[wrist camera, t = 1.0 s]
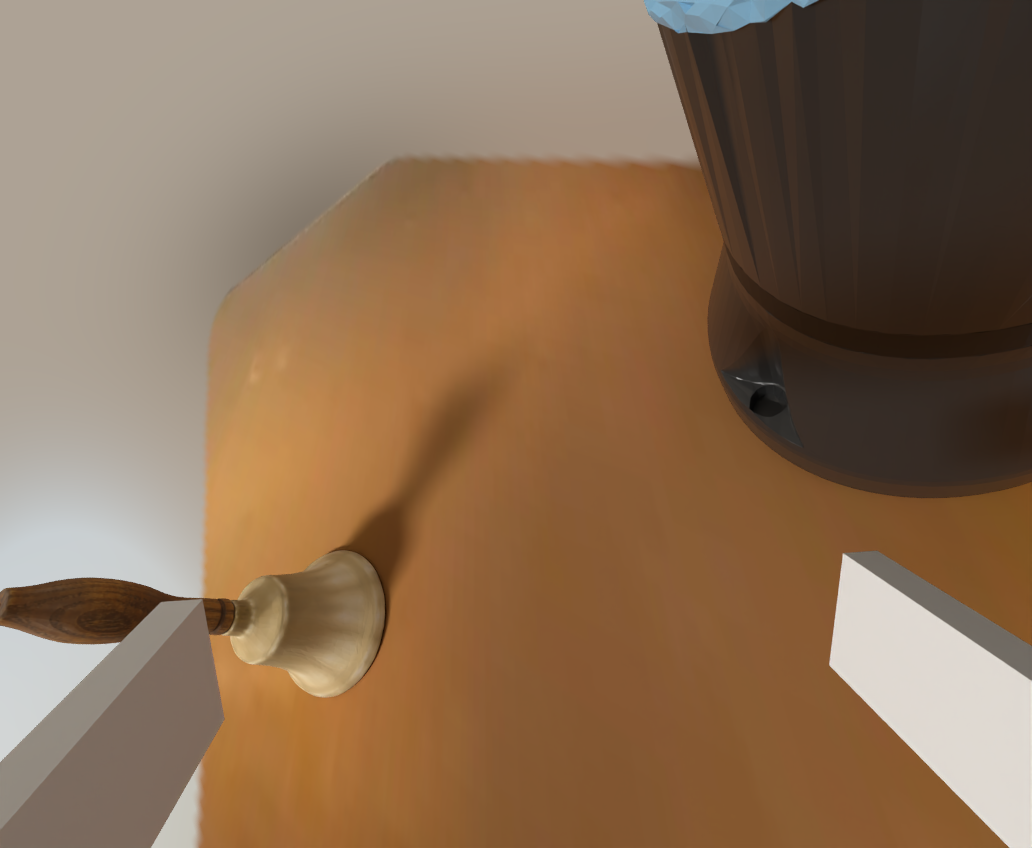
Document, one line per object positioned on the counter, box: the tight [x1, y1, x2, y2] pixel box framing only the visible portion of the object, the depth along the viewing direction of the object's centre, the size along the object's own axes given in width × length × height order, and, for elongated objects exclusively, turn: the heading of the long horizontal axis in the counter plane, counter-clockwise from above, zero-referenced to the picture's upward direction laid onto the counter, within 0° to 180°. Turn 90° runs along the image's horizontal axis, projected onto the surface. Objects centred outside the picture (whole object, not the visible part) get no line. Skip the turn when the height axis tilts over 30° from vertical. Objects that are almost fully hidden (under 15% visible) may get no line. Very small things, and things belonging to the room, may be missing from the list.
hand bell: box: [0, 550, 385, 697], centre depth 26 cm, size 8×8×16 cm
